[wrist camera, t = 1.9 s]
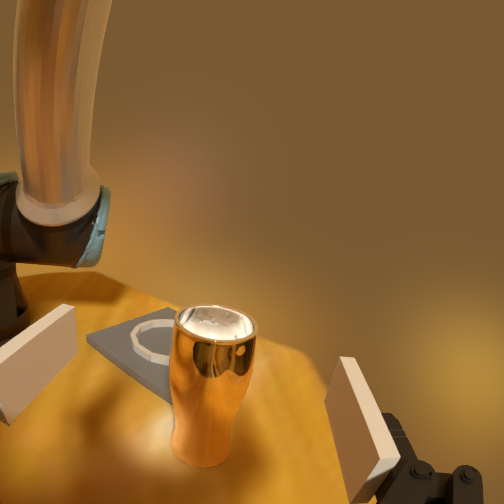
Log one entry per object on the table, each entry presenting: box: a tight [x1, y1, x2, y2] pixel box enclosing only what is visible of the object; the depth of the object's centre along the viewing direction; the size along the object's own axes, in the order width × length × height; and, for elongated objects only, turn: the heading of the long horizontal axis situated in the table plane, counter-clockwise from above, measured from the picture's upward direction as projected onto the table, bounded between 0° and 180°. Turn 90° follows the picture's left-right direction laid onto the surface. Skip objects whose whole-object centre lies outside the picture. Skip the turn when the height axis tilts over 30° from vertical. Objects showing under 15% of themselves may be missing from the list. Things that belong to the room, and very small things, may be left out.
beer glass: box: [169, 303, 258, 468], centre depth 26 cm, size 7×7×15 cm
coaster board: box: [86, 307, 177, 405], centre depth 45 cm, size 18×18×2 cm
